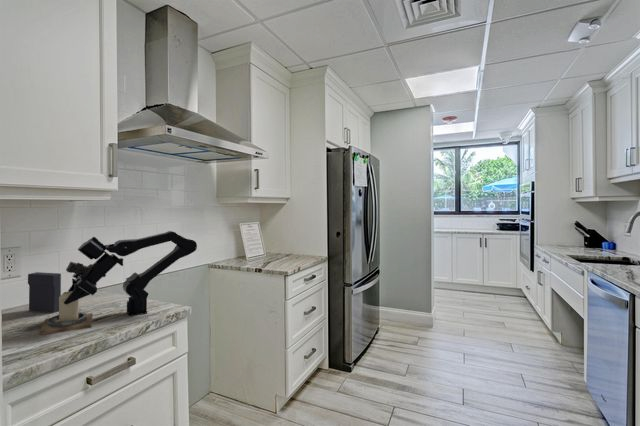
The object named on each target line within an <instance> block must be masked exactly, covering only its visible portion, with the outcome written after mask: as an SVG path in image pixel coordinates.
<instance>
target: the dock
mask: <svg viewBox="0 0 640 426" xmlns="http://www.w3.org/2000/svg"><path fill="white" fill-rule="evenodd" d="M93 313H94V312H90V313H87V312H84V311H83V312H82V311H81V312H79V311H78V319H76V320H72V321H65V322H60V321H59V314H57V315H54V316H51V317H49V318H48V317H47V318H45V320H44V321H43V323H42V326H41V328H40V330H39V332H38V333H39V335H45V334H46V335H47V334H51V333H53V334H54V333H59V332H68V331H74V330H80V329H87V328H92V324H93V323H92V322H93V316H94V315H93Z"/></svg>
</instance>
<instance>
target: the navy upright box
mask: <svg viewBox="0 0 640 426" xmlns="http://www.w3.org/2000/svg"><path fill="white" fill-rule="evenodd" d="M27 284H28V285H29V286H28V289H29V290H28V295H29V296H28V311H29V312H38V313H39V312H40V313H52V314H53V313H57V312H59V297H60V296H61V295H62V274H61V273H60V272H59V273H54V272H38V271H35V272H33V273H28V275H27Z"/></svg>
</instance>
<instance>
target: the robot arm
mask: <svg viewBox="0 0 640 426" xmlns="http://www.w3.org/2000/svg"><path fill="white" fill-rule="evenodd" d="M168 242H172V243H173V244H175V246H174V248H173V249H172V251H170V252H169V253H168V254H166V255H164V256H163V257H162V258H161V259H160V260H158V261H157V262H155V263H153V265H151V266H149V268H147V269H146V270H144V271H142V272H141V273H137V272H134V273H132V274H131V275H130V276H129V277H126V278H125V281H124V282H123V284H122V290H123V291H124V292H125V293H126V294H127V295H128V296H129V297H128V300H127V301H126V313H127V315H128V316H136V315H143V314H148V310H147V309H148V307H147V304H148V303H147V301H148V296H149V292H147V291H146V290H145V289H146V287H147V286H148V284H149V283H150V282H151V281H152V280H154V278H156V277H157V276H158V275H160V274H161V273H162V272H163V271H165V270H166V269H168V268H169V267H170V266H171V265H173V264H174V263H176V262H177V261H178V260H180V259H181V258H185V257H187V256H189V255H190V254H192V253H195V252H196V251H197V248H198V244H197V241H195V240H193V239H191V238H186V237H184V236H182V235H180V234H178V233H177V232H175V231H172V230H168V231H166V232H162V233H158V234H153V235H150V236H146V237H142V238H135V239H133V238H132V239H131V238H130V239H119V240H117V241H115V242H114V243H110V244H105V245H104V243H102V242H101V241H100V240H99V239H98V238H97V237H95V236H93V237H91V238H89V239H88V240H86V241H84V242H82V244H81V245H80V246H79V247H78V248H77V251H78V252H80V253H81V254H82V255H84V256H85V257H86V258H88V259H90V260H93V259H94V260H96V261H95V262H93V264H92V263H91V264H90V263H89V265H84V264H83V263H80V262H73V261H70V262H69V263H68V266H67V267H66V269H65V271H66V272H67V273H70V274H72V273H73V274H72V279H71V280H72V281H71V283H72V284H71V286H70V287H69V289H68V290H67V292H70V291H73V292H72V293H71V294H70V295H69V296H68V298H67V299H66V300H65V301H64V304H66V305H67V304H69V303H71V302H74V301H76V300H78V301H79V300H81V299H83V298H85V297H87V296H90V295H91V296H95V293H97V292H98V287H97V285H98V282H99V281H100V280H101V279H102V278H105V277H107V273H109V272H110V271H111V270H112V269H113V268H114V267H115V266H116V265H117V264H118V265H120V266H121V267H123V266H124V258H122V257H126V256H129V255H131V254H134V253H136V252H138V251H139V250H141V249H145V248H149V247H153V246H156V245H160V244H164V243H168ZM106 251H107V252H106ZM108 252H109V253H111V254H109V253H108ZM114 253H115V254H114ZM118 256H119V257H118ZM74 278H75V279H74Z"/></svg>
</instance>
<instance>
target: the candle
mask: <svg viewBox="0 0 640 426" xmlns="http://www.w3.org/2000/svg"><path fill="white" fill-rule="evenodd" d="M72 292H73V291H70V292H68V291H64V292H62V293H61V296H60V297H59V311H58V315H59V321H60V322H65V321H72V320H76V319H78V312H79V299H78V300H76V301H74V302H71V303H69V304H67V305H66V304H64V301H65V300H66V299H67V298H68V296H69V295H70V294H71V293H72Z"/></svg>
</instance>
